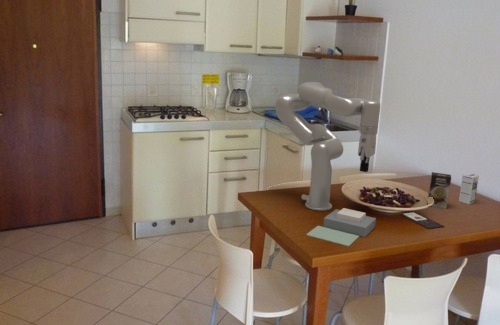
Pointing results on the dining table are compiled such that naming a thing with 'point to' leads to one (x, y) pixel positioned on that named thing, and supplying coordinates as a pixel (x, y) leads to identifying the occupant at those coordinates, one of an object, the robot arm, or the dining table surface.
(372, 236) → the dining table surface
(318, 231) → the mat
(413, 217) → the chocolate bar
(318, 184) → the robot arm
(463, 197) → the syrup box
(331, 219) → the block
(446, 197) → the coffee box
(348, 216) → the tile
